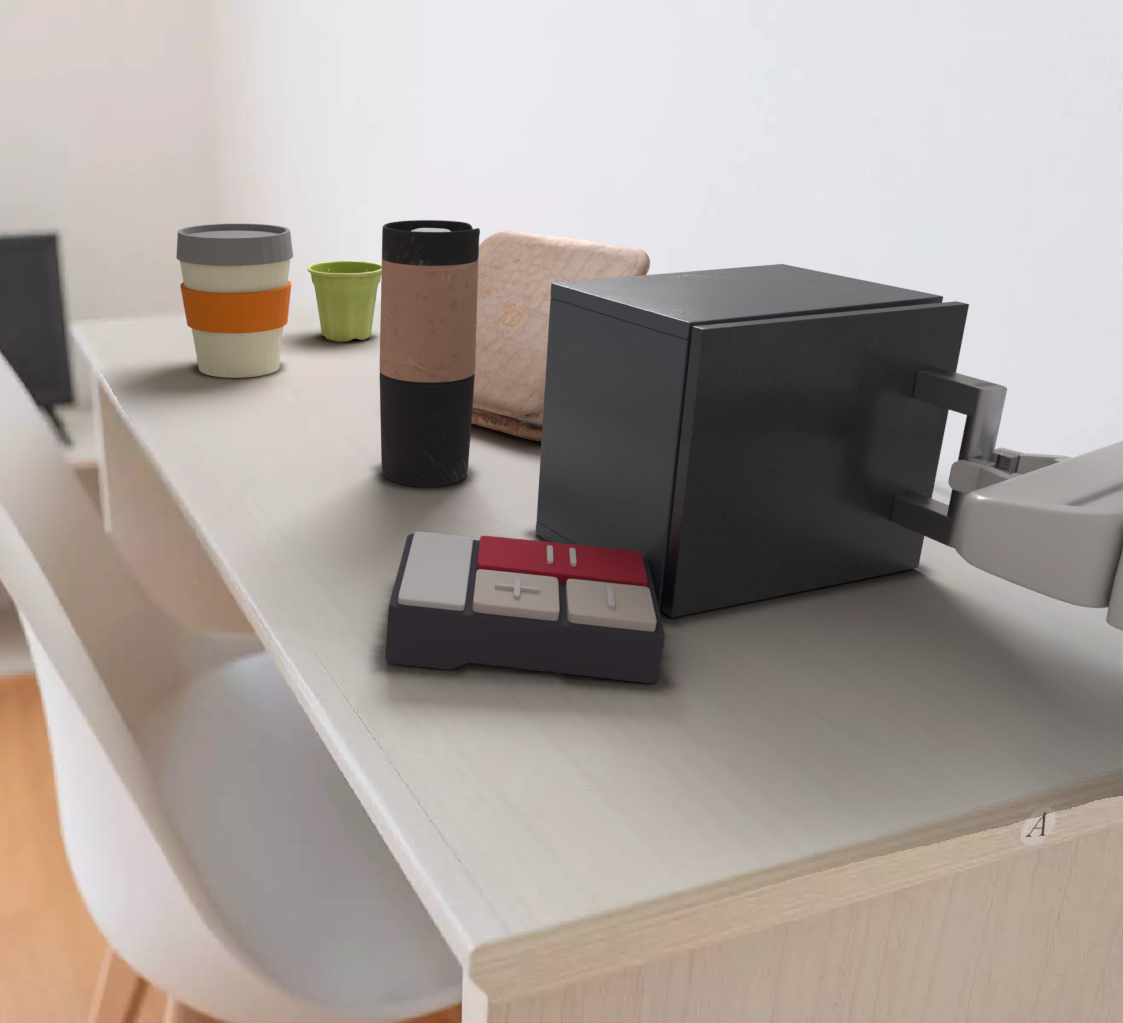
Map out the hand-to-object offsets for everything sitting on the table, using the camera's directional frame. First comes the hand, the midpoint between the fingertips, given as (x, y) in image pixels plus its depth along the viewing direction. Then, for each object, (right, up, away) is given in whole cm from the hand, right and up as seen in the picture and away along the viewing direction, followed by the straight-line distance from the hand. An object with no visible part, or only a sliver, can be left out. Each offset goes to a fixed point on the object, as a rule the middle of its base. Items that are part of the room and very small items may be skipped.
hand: (971, 466), depth 69 cm
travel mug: (-31, 0, +26) cm, 41 cm away
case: (-20, +7, +45) cm, 50 cm away
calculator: (-27, -10, -1) cm, 29 cm away
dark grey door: (-8, -9, +2) cm, 12 cm away
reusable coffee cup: (-50, +13, +60) cm, 79 cm away
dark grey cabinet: (-12, -5, +12) cm, 18 cm away
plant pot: (-38, +19, +75) cm, 86 cm away
